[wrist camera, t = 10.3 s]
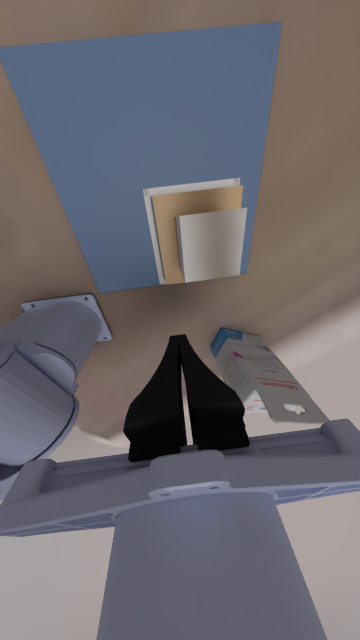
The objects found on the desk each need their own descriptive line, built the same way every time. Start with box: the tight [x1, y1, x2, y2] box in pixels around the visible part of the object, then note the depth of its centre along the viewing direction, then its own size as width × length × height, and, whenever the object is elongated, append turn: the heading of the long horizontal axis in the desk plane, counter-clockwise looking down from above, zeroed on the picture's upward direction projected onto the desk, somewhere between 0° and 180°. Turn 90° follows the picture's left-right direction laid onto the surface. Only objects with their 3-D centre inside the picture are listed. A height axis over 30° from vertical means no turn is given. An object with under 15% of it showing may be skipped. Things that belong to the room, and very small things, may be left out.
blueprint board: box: [0, 22, 282, 293], centre depth 16 cm, size 20×18×1 cm
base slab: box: [152, 185, 243, 285], centre depth 17 cm, size 8×8×3 cm
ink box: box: [211, 328, 330, 424], centre depth 22 cm, size 8×5×15 cm, turn 72°
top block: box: [174, 208, 247, 283], centre depth 13 cm, size 4×4×5 cm
